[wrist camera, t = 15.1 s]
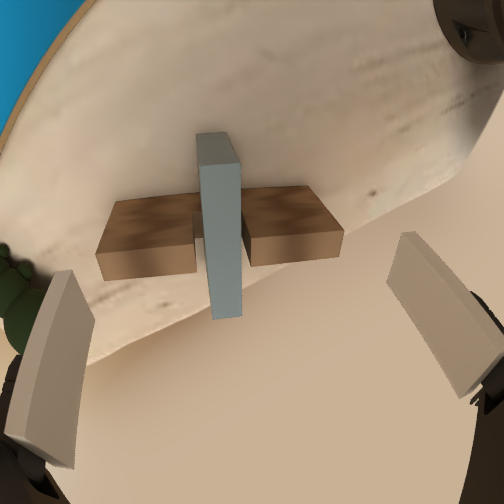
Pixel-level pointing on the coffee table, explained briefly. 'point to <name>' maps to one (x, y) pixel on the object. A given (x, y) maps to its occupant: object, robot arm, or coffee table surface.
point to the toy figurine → (18, 301)
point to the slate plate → (221, 221)
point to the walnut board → (191, 226)
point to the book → (30, 48)
